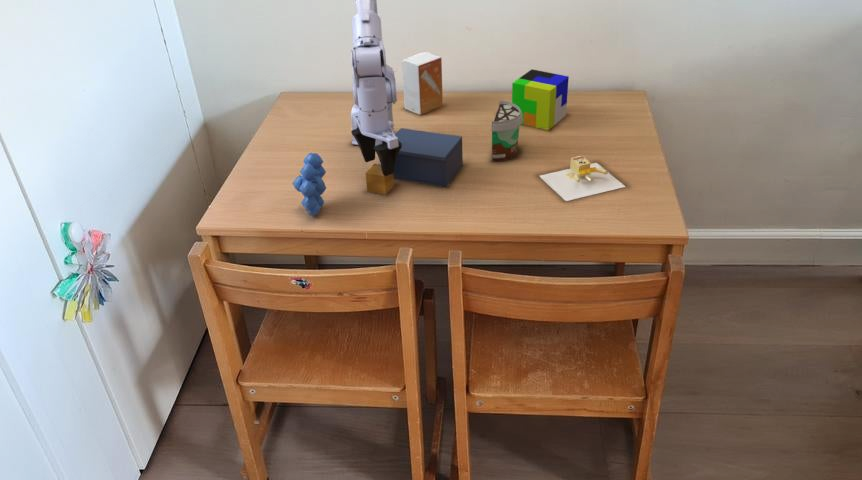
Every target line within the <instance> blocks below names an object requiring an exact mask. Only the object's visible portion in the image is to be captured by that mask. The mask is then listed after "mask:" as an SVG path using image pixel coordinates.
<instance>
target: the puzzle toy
mask: <svg viewBox="0 0 862 480" xmlns="http://www.w3.org/2000/svg"><path fill="white" fill-rule="evenodd" d="M511 84H512V86H511V87H512V88H511V103H513V104H515V105H517V106H518V107H519V108H520V110H521V112H522V116H523V122H522V123H521V125H524V126H526V127H527V126H528V127H532V128H536V129H541V130H545V131H550V129H552V128H553V127H554V126H556V124H558V123H559V122H560V121H562V119H563V118H564V117H566V116H567V107H568V93H569V76H568V75H563V74H558V73H555V72H554V73H553V72H548V71H543V70H538V69H530V70H528V71H526V73H524V74H523V75H521V76H520V77H519V78H518V79H516V80H514V81H513V82H512V83H511Z"/></svg>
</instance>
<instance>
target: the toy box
mask: <svg viewBox="0 0 862 480" xmlns="http://www.w3.org/2000/svg"><path fill="white" fill-rule="evenodd" d="M463 155H464V153H463V140H462V141H461V142H460V143H459V144H458V145H457V147H456V148H455V149H454V150H453V151H452V153H451V154H450V155H449V156H448V157H447V159H446V160H445V161H443V160H436V159H429V158H423V157H416V156H409V155H402V154H398V155H397V158H396V162H395V166H394V172H393V175H394V180H401V181H408V182H414V183H419V184H426V185H434V186H439V187H445V188H448V187H449V185H450V184H451V182H452V181H453V180H454V178H455V177H456V176H457V174H458V172H459V171H460V170H461V169H462V167H463V166H464V159H463V158H464V157H463Z"/></svg>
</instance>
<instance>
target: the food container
mask: <svg viewBox="0 0 862 480" xmlns="http://www.w3.org/2000/svg"><path fill="white" fill-rule="evenodd" d="M522 122H523V116H522V112H521V110H520V108H519V107H518V106H517V105H515V104H513V103H512V102H510V101H505V100H499V101H498V107H497V110H496V112H495V116H494V120H493V121H491V128H490V129H491V130H490V131H491V162H501V161H502V162H504V161H507V160H510V159H513V158H514V157H515V156H516V155H517V153H518V143H519V134H520V126H521V125H522V124H521V123H522Z"/></svg>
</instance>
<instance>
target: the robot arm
mask: <svg viewBox="0 0 862 480" xmlns="http://www.w3.org/2000/svg"><path fill="white" fill-rule="evenodd" d="M354 2H355V6H356V13H355V14H354V15H353V17H352V18H351V33H352V35H351V36H352V50H351V52H350V61H351V69H352V70H351V71H352V96H353V102H354V104H353V106H352V108H351V111H350V123H351V124H350V125H351V135H352V142H351V145H355V146H358V147H359V149H360V151H361V155H362V157H363V160H364V162H365V163H369V162H372V161H375V160H376V155H377V157H378V160H379V164H380V165H381V169H382V173H383V175H384V176H387V175H390V174H393V172H394V166H395V162H396V158H397V155H398V153H399V151H400V149H401V147H402V143H401V142H399V141H398V138H397V137H396V136H395V134H396V133H397V132H395V128H394V126H395V125H394V116H393V105H395V104H396V103H397V101H398V97H397V96H398V95H397V86H396V85H397V83H396V75H395V70H394V69H393V67H391V66H390V65H388V64H387V58H386V57H387V56H386V50H385V45H384V40H383V32H382V31H383V29H382V20H381V17H380V16H379V13H378V3H377V0H355V1H354Z"/></svg>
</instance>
